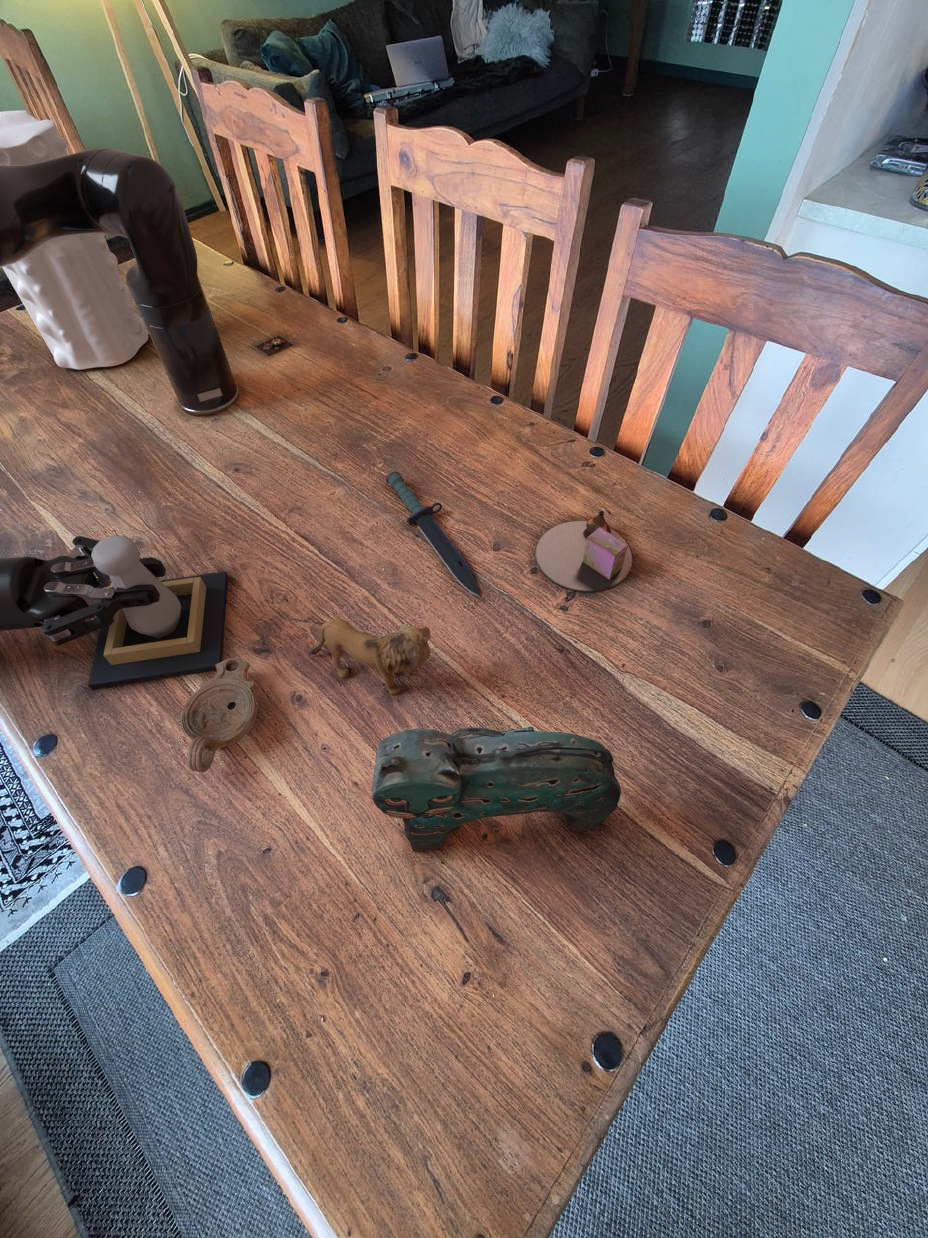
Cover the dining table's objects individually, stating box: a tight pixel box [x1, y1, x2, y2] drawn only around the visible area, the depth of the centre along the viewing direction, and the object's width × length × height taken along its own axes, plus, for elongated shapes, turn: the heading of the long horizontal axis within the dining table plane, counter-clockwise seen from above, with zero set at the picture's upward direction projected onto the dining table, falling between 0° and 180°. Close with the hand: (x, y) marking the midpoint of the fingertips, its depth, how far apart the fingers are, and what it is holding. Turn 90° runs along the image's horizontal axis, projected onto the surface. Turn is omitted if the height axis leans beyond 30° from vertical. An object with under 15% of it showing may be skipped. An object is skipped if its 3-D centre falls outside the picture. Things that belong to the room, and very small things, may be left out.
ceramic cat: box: [371, 726, 622, 852], centre depth 52 cm, size 20×6×20 cm, turn 95°
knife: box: [385, 471, 481, 597], centre depth 82 cm, size 23×2×5 cm
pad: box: [87, 570, 230, 691], centre depth 73 cm, size 14×14×3 cm
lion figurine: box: [308, 618, 432, 696], centre depth 67 cm, size 15×5×9 cm, turn 75°
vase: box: [0, 109, 149, 371], centre depth 100 cm, size 17×16×32 cm
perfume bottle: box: [534, 510, 633, 594], centre depth 78 cm, size 12×12×4 cm
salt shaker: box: [91, 534, 181, 639], centre depth 69 cm, size 6×6×13 cm
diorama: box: [254, 335, 294, 357], centre depth 110 cm, size 3×4×2 cm
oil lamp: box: [180, 657, 258, 773], centre depth 65 cm, size 13×8×5 cm, turn 174°
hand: (159, 579), depth 68 cm, fingers closed on salt shaker, 3 cm apart
